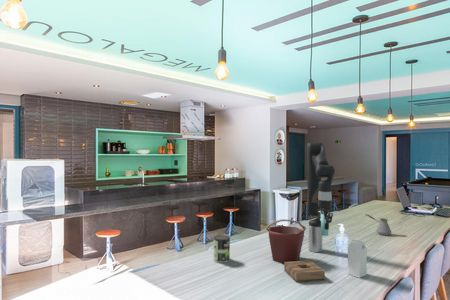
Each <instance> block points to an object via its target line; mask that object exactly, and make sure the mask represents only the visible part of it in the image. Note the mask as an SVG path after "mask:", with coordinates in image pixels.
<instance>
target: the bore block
mask: <svg viewBox="0 0 450 300" xmlns="http://www.w3.org/2000/svg"><path fill="white" fill-rule="evenodd" d="M283 265H284V266H283V267H284V272H285V273H286V274H287V275H288V276H289V277H290V278H291V279H292V280H293V281H294V282H295V283H304V282H305V283H306V282H319V281H326V279H325V275H326V274H325V272H326V271H325V269H323V268H321V267H320V266H319V265H317V264H316V263H315V262H313V261H312V260H298V261H294V262H285V264H283Z"/></svg>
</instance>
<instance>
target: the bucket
mask: <svg viewBox="0 0 450 300" xmlns="http://www.w3.org/2000/svg"><path fill="white" fill-rule="evenodd" d="M280 222H290V223H295V224H298V225H299V226H300V227H301V228H300V227H296V226H287V225H276V226H275V225H274V224H277V223H280ZM273 225H274V226H273ZM265 228H266V231H267V232H268V238H269V245H270V250H271V256H272V261H274V262H275V263H276V262H277V263H280V264H283V265H284V264H285V262H294V261H300V257H301V252H302V249H303V248H302V247H303V242H304V237H305V231H306V229H307V228H306V226H305V225H303V224H302V223H301V222H300V221H298V220H293V219H286V218H285V219H278V220H275V221H272V222H270V223H269V224H268V225H267V226H266V227H265Z"/></svg>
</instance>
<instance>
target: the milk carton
mask: <svg viewBox="0 0 450 300" xmlns="http://www.w3.org/2000/svg"><path fill="white" fill-rule="evenodd" d="M367 251H368V249H367V247H366V245H365V243H364V241H362V240H357V239H354V238H351V240H350V242H349V244H348V247H347V275H349V276H353V277H357V278H359V279H360V278H362V277H365V276H367V275H368V274H367V273H368V272H367V261H368V258H367Z"/></svg>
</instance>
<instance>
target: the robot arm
mask: <svg viewBox="0 0 450 300" xmlns="http://www.w3.org/2000/svg"><path fill="white" fill-rule="evenodd" d="M306 153H307V154H306V157H307V177H306V178H307V181H306V182H307V196H306V197H307V198H306V199H307V200H306V214H307V215H308V216H316V218H314V219H310V220H309V221H308V251H309V252H313V253H321V252H323V242H324V241H323V240H324V239H323V235H321V214H323V217H324V219H325V229H326V230H328V231H329V229H330V223H332V220H333V217H334V214H333V212H331V210H330V209H331V208H332V207H333V206H332V204H333V203H332V202H333V199H332V198H333V196H332V195H333V193H332V183H333V179H334V176H335V170H336V169H335V166H333V165H332V164H329V162H328V159H327V156H326V155H327V154H326V147H325V145H324V143H323V142H317V141H316V142H308V143H307V144H306ZM313 157H315V160H314V159H313ZM322 178H326V179H325V180H322ZM317 192H318V194H317V195H318V196H317V200H318V202H317V201H313V199H314V197H315V195H316V193H317ZM326 219H327V221H326Z"/></svg>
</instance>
